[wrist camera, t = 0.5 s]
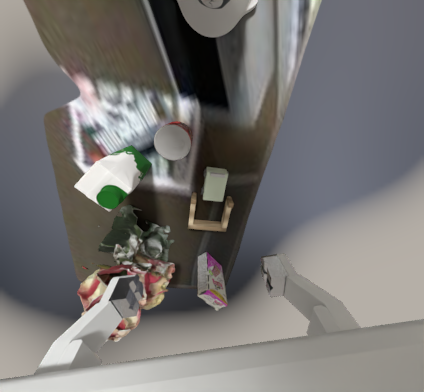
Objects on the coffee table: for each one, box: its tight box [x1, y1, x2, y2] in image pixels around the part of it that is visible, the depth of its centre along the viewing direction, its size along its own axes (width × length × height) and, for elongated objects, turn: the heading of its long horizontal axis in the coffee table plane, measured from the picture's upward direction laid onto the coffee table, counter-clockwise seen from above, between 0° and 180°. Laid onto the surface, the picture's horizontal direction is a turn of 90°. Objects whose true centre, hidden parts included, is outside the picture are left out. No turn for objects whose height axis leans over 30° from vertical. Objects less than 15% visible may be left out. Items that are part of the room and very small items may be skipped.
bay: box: [188, 192, 234, 232], centre depth 56 cm, size 12×13×5 cm
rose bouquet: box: [77, 204, 175, 342], centre depth 50 cm, size 26×29×30 cm
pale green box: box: [201, 167, 229, 202], centre depth 51 cm, size 9×7×6 cm
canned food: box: [154, 122, 192, 160], centre depth 41 cm, size 8×8×11 cm
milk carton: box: [74, 145, 151, 211], centre depth 40 cm, size 9×9×20 cm
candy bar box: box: [197, 252, 228, 310], centre depth 62 cm, size 11×5×16 cm, turn 36°
